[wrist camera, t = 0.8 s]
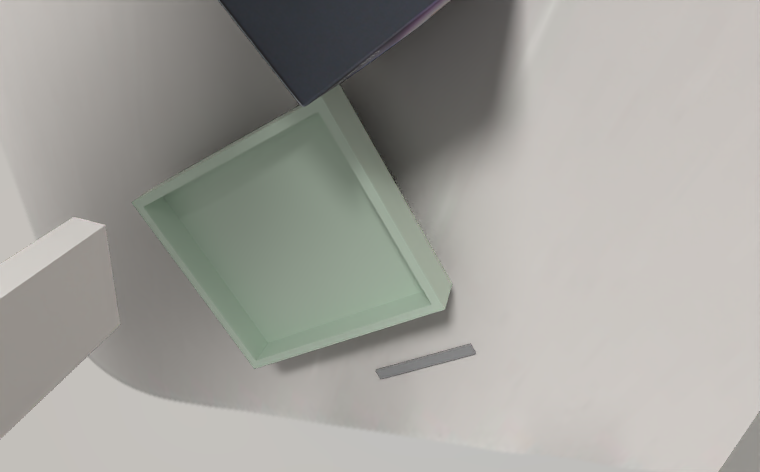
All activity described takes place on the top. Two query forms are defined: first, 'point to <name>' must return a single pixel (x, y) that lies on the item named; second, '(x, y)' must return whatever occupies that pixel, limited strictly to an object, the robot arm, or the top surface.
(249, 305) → the green footed tray
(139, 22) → the top surface
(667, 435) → the top surface
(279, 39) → the small box
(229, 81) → the top surface
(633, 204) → the top surface
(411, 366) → the strip
